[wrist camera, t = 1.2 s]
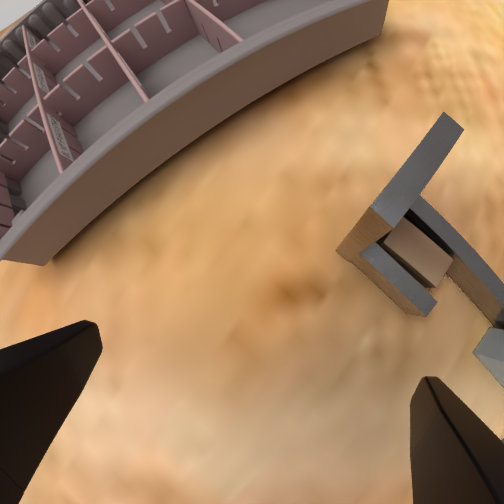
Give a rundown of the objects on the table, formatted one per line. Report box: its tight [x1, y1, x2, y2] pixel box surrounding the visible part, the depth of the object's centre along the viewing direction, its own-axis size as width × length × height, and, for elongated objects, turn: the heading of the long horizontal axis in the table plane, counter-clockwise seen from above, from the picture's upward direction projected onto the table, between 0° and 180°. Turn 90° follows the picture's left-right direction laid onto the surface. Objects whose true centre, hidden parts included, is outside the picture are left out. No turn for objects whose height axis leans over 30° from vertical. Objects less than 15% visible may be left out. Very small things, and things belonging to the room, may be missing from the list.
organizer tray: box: [0, 0, 389, 266], centre depth 24 cm, size 32×40×10 cm
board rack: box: [336, 112, 504, 330], centre depth 15 cm, size 6×22×12 cm, turn 47°
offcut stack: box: [376, 217, 453, 292], centre depth 20 cm, size 2×5×4 cm, turn 47°
